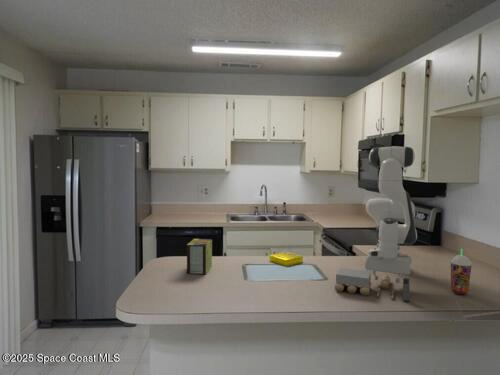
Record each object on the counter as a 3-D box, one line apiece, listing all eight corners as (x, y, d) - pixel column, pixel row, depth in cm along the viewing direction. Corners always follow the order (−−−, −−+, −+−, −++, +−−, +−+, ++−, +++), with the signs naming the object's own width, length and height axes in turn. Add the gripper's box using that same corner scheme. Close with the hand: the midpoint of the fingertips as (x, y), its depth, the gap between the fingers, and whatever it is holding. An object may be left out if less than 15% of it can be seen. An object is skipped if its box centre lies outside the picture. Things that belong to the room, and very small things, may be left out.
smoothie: (459, 296, 157) (462, 251, 156) (444, 289, 165) (446, 247, 164) (474, 294, 159) (477, 250, 158) (459, 288, 167) (461, 246, 166)
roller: (383, 283, 176) (380, 275, 176) (391, 281, 175) (388, 273, 175) (382, 290, 165) (379, 282, 165) (390, 288, 164) (387, 280, 164)
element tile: (268, 262, 211) (268, 254, 210) (285, 258, 220) (285, 250, 220) (286, 267, 199) (286, 259, 199) (304, 263, 209) (304, 255, 209)
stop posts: (402, 292, 160) (403, 277, 160) (408, 293, 159) (409, 278, 159) (402, 301, 150) (403, 285, 150) (409, 302, 149) (409, 286, 149)
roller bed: (339, 283, 172) (339, 275, 172) (394, 291, 162) (394, 283, 162) (334, 291, 161) (334, 283, 161) (393, 300, 151) (393, 291, 151)
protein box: (212, 266, 199) (212, 239, 198) (206, 274, 183) (206, 245, 182) (193, 265, 200) (193, 238, 199) (186, 273, 184) (186, 244, 183)
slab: (340, 275, 172) (340, 267, 171) (370, 279, 166) (370, 271, 166) (335, 282, 161) (336, 274, 160) (368, 287, 155) (368, 278, 155)
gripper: (411, 253, 168) (410, 282, 168) (366, 249, 176) (365, 276, 176) (412, 256, 162) (410, 286, 162) (365, 251, 170) (364, 280, 170)
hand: (386, 281), depth 169 cm, fingers open, 8 cm apart
